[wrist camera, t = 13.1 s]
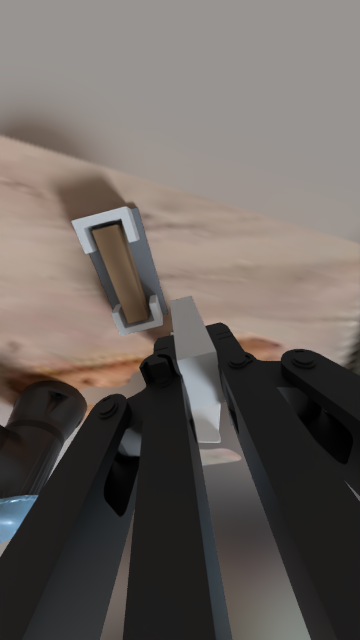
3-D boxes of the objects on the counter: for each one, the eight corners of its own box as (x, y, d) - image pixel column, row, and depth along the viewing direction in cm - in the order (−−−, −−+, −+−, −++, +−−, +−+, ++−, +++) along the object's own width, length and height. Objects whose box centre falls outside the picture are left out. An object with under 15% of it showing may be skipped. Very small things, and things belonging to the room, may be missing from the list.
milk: (170, 331, 42) (178, 423, 22) (197, 334, 43) (228, 425, 23) (166, 354, 44) (170, 456, 24) (192, 357, 45) (216, 457, 25)
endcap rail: (120, 323, 40) (115, 337, 35) (79, 223, 32) (63, 222, 27) (167, 311, 40) (168, 323, 35) (138, 208, 31) (133, 204, 26)
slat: (132, 312, 38) (128, 323, 33) (101, 230, 31) (91, 230, 27) (149, 308, 38) (147, 318, 33) (122, 225, 31) (116, 224, 27)
